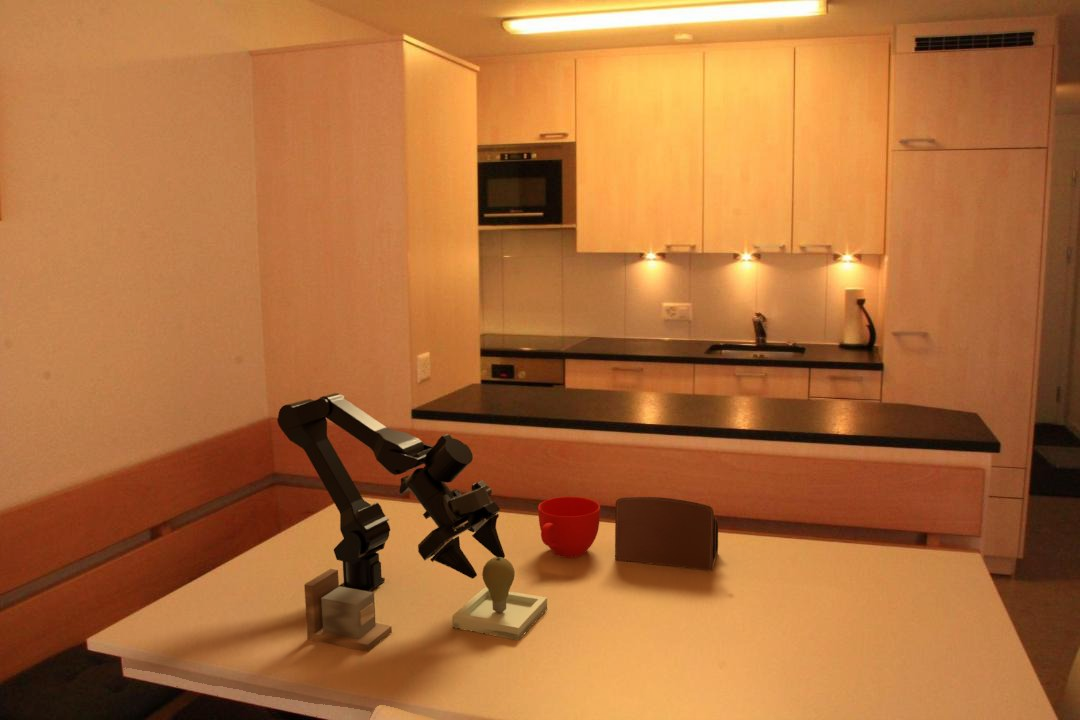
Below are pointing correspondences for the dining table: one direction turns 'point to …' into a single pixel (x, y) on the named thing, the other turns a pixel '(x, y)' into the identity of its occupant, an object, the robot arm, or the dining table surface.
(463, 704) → the dining table surface
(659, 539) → the letter holder
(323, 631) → the bookend
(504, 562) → the light bulb
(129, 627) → the dining table surface
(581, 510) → the ceramic cup
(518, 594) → the tray
